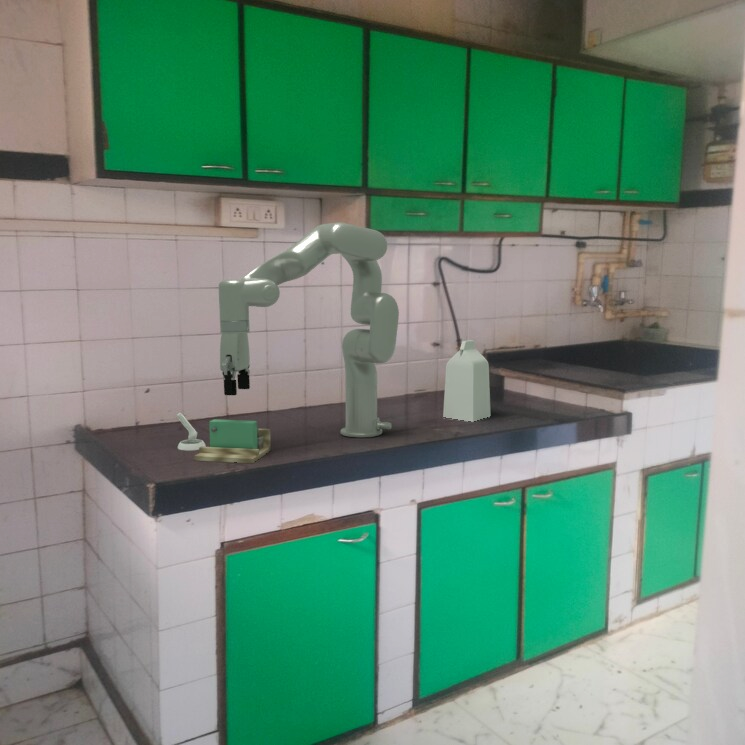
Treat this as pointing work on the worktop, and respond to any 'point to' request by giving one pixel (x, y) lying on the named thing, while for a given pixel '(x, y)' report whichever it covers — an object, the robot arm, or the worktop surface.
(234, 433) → the door
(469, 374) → the milk
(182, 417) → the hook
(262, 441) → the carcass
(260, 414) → the worktop surface
